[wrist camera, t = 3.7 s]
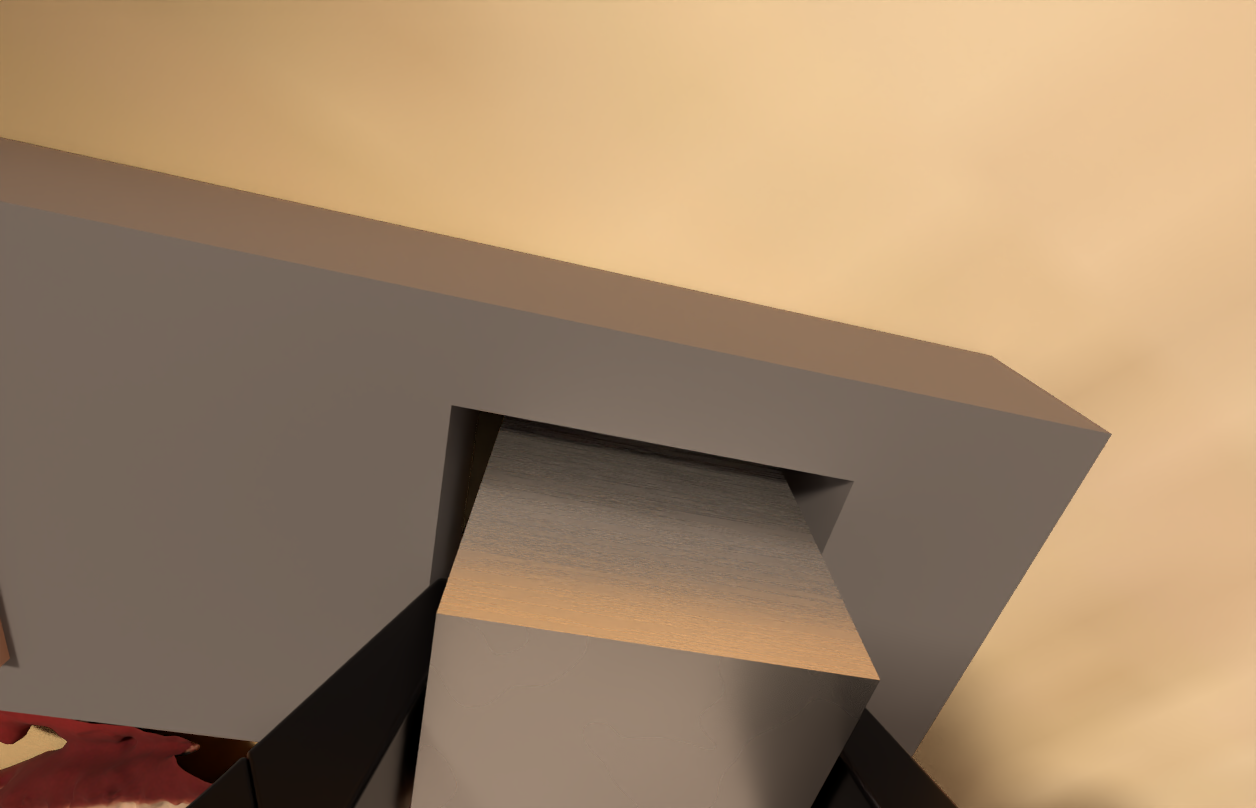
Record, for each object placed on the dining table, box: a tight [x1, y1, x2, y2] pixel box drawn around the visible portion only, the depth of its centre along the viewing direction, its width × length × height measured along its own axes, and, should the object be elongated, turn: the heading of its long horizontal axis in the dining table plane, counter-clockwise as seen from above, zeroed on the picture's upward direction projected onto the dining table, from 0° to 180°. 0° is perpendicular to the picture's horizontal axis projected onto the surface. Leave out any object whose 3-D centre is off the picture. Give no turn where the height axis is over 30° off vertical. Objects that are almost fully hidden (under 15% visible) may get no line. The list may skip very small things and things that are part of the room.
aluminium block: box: [411, 415, 880, 808], centre depth 10 cm, size 4×4×6 cm
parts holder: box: [0, 137, 1112, 757], centre depth 10 cm, size 8×24×3 cm, turn 77°
